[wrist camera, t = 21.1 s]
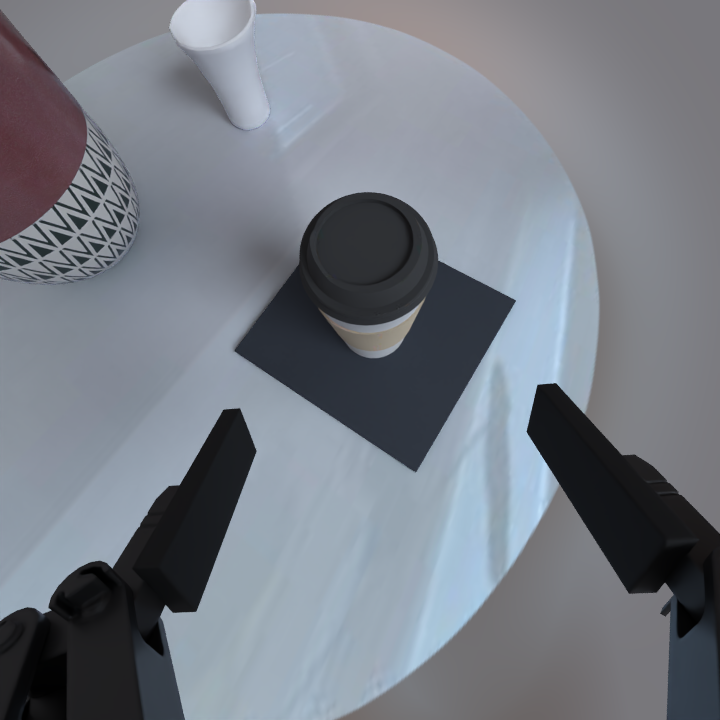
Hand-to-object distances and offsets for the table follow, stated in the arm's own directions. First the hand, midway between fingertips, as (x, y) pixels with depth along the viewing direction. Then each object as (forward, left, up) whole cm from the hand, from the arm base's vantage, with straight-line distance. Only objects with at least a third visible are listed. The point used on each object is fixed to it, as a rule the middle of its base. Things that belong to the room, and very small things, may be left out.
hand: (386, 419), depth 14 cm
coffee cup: (+7, -8, -16) cm, 19 cm away
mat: (+7, -8, -17) cm, 20 cm away
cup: (+37, -25, -17) cm, 47 cm away
